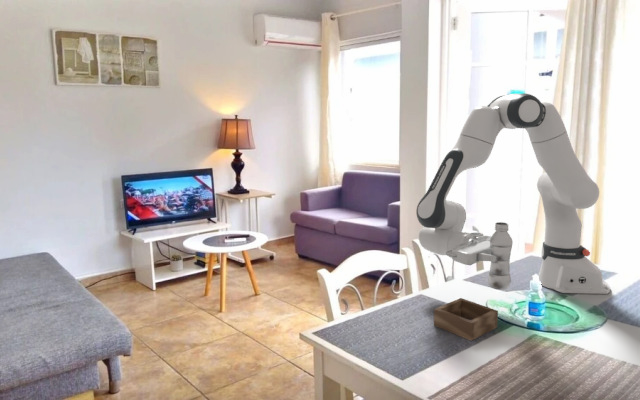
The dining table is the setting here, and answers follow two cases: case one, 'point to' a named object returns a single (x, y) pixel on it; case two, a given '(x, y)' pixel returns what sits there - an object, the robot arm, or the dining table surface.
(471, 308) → the open wooden box
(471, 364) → the dining table surface
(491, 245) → the plastic bottle
